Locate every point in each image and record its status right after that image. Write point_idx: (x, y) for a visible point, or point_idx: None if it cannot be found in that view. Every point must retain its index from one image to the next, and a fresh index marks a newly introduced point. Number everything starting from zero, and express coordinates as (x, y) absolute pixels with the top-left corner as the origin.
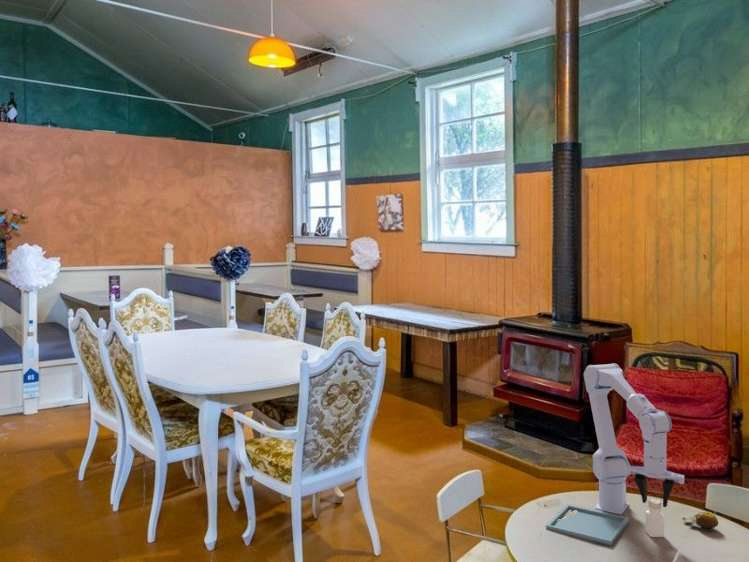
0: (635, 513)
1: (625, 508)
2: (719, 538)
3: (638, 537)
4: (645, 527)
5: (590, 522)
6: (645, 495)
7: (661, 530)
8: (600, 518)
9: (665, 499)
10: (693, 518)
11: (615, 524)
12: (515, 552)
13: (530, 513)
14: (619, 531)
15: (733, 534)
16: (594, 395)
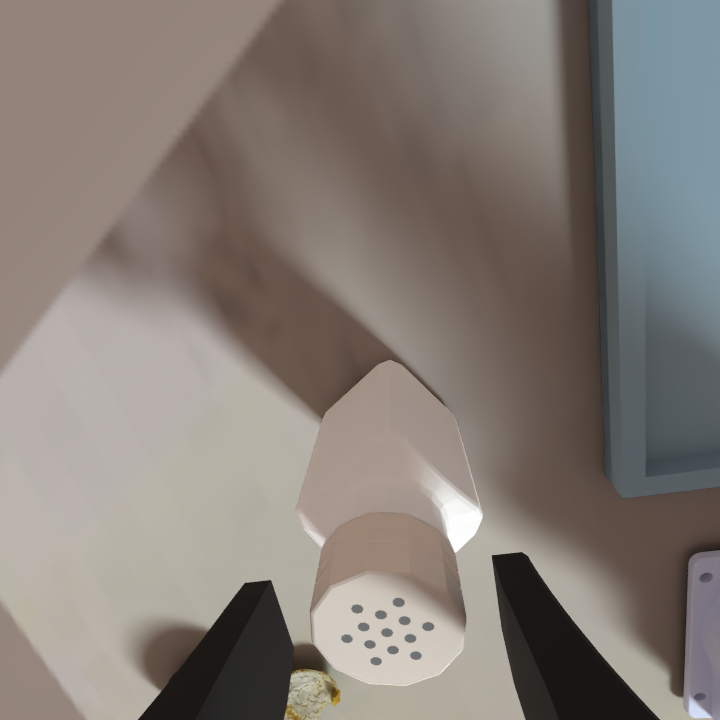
0: (610, 628)
1: (689, 643)
2: (109, 600)
3: (460, 299)
4: (455, 425)
5: None
6: (523, 672)
7: (327, 426)
8: None
9: (187, 673)
10: (287, 715)
11: (682, 365)
12: None
13: None
14: (610, 227)
15: (94, 676)
16: None
